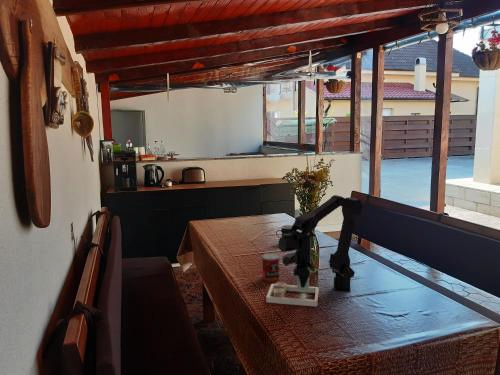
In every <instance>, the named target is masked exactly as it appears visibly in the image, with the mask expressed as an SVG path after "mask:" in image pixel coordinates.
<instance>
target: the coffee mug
mask: <svg viewBox="0 0 500 375" xmlns="http://www.w3.org/2000/svg"><path fill="white" fill-rule="evenodd" d="M292 226H293V224H292V225H290V224H289V225H288V224H285V225H281V226H280V229H278V230H276V231H275V235H276V236H277V237H278V238H279V239H280V238H281V237H280V236H279V235H278V232H281V235H282V234H290V233H289V231H290V229H291V228H292Z"/></svg>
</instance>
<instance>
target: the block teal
mask: <svg viewBox="0 0 500 375" xmlns="http://www.w3.org/2000/svg"><path fill="white" fill-rule="evenodd" d="M296 286H297V290H308V288H309V287H310V277H309V278H308V280H307V282H306V284H305V287H304V288H303V287H301V283H300V279H299V276H297V279H296Z"/></svg>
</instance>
